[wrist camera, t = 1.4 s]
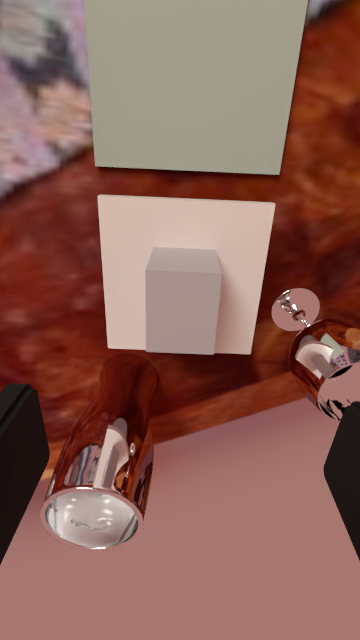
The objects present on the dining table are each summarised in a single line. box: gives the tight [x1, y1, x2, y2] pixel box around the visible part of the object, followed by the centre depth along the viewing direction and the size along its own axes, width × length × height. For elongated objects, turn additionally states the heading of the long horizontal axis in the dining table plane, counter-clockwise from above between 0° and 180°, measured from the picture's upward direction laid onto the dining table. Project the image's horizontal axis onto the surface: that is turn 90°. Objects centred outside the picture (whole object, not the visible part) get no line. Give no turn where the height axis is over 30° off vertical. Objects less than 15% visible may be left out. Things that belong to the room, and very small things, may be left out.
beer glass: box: [40, 354, 158, 551], centre depth 27 cm, size 7×7×15 cm
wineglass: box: [271, 288, 360, 422], centre depth 24 cm, size 6×6×12 cm
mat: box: [84, 0, 308, 175], centre depth 21 cm, size 14×14×1 cm
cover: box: [98, 195, 275, 355], centre depth 20 cm, size 11×11×6 cm
